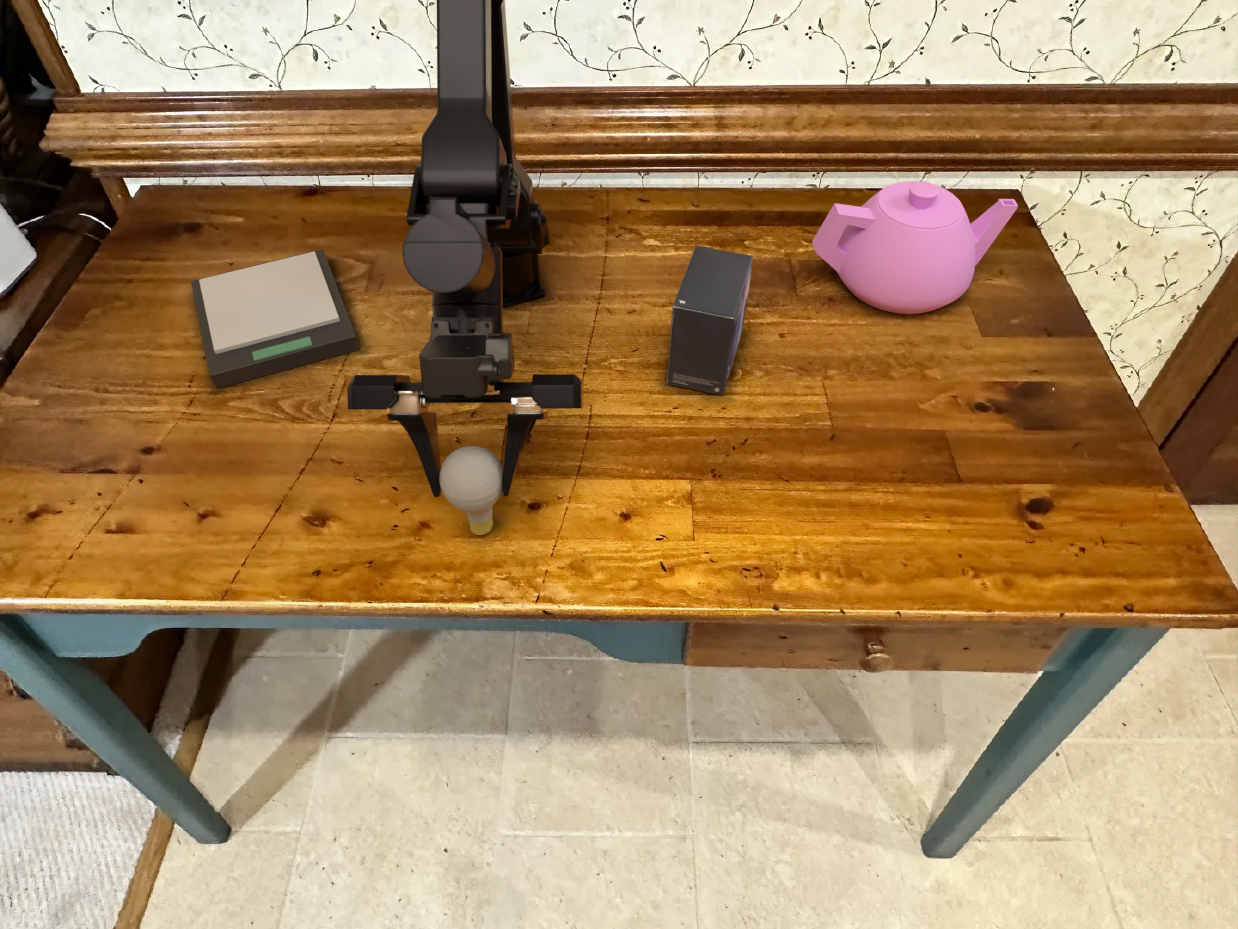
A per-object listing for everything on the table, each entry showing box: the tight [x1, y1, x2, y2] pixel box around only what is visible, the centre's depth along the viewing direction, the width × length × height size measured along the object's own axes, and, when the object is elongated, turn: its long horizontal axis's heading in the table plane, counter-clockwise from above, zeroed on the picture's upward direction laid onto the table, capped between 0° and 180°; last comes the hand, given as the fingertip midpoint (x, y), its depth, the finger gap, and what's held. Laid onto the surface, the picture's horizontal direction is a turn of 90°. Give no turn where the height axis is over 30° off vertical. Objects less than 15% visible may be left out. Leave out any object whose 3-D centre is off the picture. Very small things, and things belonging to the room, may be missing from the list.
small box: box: [665, 245, 754, 396], centre depth 90 cm, size 11×6×10 cm, turn 164°
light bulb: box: [439, 445, 504, 536], centre depth 75 cm, size 6×6×10 cm
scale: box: [190, 248, 360, 390], centre depth 97 cm, size 15×17×3 cm
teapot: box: [811, 180, 1019, 315], centre depth 98 cm, size 22×16×12 cm
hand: (471, 496), depth 73 cm, fingers closed on light bulb, 5 cm apart
